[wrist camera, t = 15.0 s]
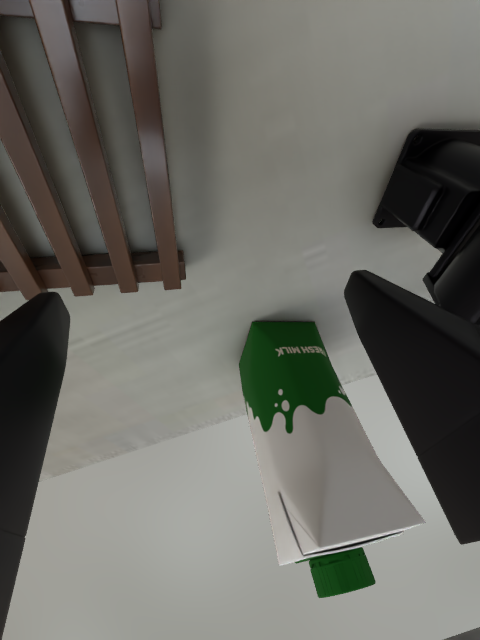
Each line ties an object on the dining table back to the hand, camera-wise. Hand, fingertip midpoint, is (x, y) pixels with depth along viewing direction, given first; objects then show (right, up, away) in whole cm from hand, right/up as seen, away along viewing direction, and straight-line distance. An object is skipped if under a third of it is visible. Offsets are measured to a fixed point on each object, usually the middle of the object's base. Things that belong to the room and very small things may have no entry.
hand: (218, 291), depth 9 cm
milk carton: (+5, -3, +23) cm, 23 cm away
